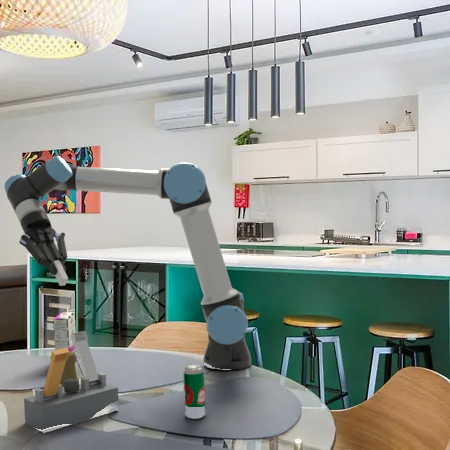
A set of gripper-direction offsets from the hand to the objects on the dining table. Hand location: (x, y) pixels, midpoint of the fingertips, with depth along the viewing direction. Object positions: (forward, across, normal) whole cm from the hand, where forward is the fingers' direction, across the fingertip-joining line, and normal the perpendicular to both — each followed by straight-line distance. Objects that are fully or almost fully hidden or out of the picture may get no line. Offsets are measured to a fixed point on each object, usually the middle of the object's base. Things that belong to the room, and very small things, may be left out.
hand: (64, 282), depth 154 cm
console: (+30, +4, -15) cm, 34 cm away
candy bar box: (-3, -18, -49) cm, 52 cm away
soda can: (+46, -16, 0) cm, 49 cm away
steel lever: (+25, -2, -11) cm, 27 cm away
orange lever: (+25, +10, -11) cm, 29 cm away
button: (+26, +4, -11) cm, 28 cm away
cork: (+16, -5, -30) cm, 34 cm away
